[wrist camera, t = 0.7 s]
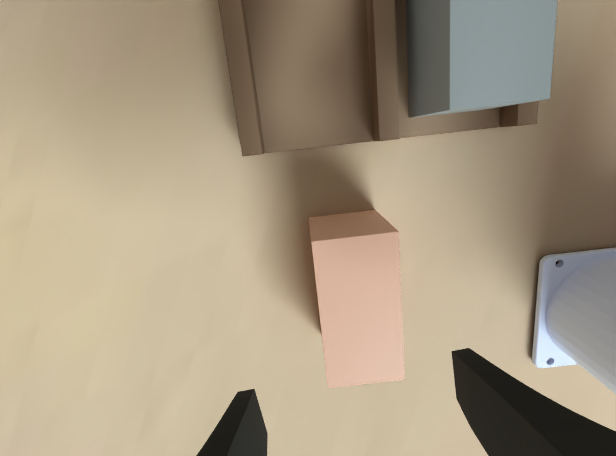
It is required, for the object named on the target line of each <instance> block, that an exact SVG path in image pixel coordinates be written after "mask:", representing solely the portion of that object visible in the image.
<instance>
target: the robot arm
mask: <svg viewBox="0 0 616 456" xmlns="http://www.w3.org/2000/svg"><path fill="white" fill-rule="evenodd" d="M558 260H559V263H558V264H557V265H555V264H556V262H557V261H558ZM452 359H453V369H454V378H455V388H456V397H457V400H458V402H459V404H460V407H461V409H462V411H463V413H464V415H465V417H466V419H467V421H468V423H469V425H470V427H471V428H472V430H473V432H474V433H475V435H476V437H477V438H478V440H479V441H480V443H481V444H482V446H483V448H484V449H485V451H486V452H487V454H488V456H616V431H613V430H611V429H609V428H607V427H604V426H602V425H600V424H598V423H596V422H594V421H592V420H590V419H588V418H586V417H584V416H581V415H579V414H577V413H575V412H573V411H571V410H569V409H567V408H566V407H564V406H562V405H560V404H558V403H556V402H554V401H553V400H551V399H549V398H547V397H546V396H544V395H542V394H540V393H538V392H537V391H535V390H533V389H532V388H530V387H528V386H527V385H525V384H523V383H522V382H520V381H518V380H517V379H515V378H514V377H512V376H510V375H509V374H507V373H506V372H504V371H503V370H501V369H500V368H498V367H497V366H495V365H494V364H492V363H491V362H489V361H488V360H486V359H485V358H483V357H482V356H480V355H479V354H477V353H476V352H474V351H472V350H471V349H469V348H467V349H461V350H456V351H452ZM548 359H549V360H548ZM532 362H533V364H534V365H535V366H536V367H538V368H547V367H556V366H565V365H574V364H579V365H580V366H581V367H582V368H584V369H585V370H586V371H587V372H589V373H590V374H591V375H592V376H594V377H595V378H596V379H597V380H599V381H600V382H601V383H602V384H604V385H605V386H606V387H607V388H609V389H610V390H611V391H612V392H614V393H615V394H616V248H607V249H598V250H589V251H580V252H571V253H562V254H553V255H546V256H544V257H543V258H542V259H541V260H540V264H539V276H538V289H537V302H536V314H535V327H534V340H533V353H532ZM197 456H267V430H266V427H265V424H264V420H263V417H262V413H261V410H260V407H259V403H258V400H257V396H256V393H255V390H254V389H251V390H246V391H240V392H238V393H237V394H236V396H235V397H234V399H233V400H232V402H231V404H230V405H229V407H228V408H227V410H226V412H225V413H224V415H223V416H222V418H221V420H220V421H219V423H218V424H217V426H216V428H215V429H214V431H213V432H212V434H211V435H210V437H209V438H208V440H207V441H206V443H205V444H204V446H203V447H202V449H201V450H200V451H199V453H198V454H197Z"/></svg>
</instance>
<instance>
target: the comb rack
mask: <svg viewBox="0 0 616 456" xmlns="http://www.w3.org/2000/svg"><path fill="white" fill-rule="evenodd" d="M218 2H219V8H220V14H221V21H222V27H223V34H224V40H225V47H226V53H227V60H228V66H229V73H230V79H231V85H232V92H233V98H234V105H235V111H236V118H237V124H238V131H239V137H240V143H241V150H242V156H250V155H259V154H264V153H270V152H279V151H288V150H297V149H306V148H315V147H324V146H333V145H342V144H351V143H360V142H369V141H385V140H394V139H400V138H405V137H414V136H423V135H432V134H441V133H450V132H459V131H468V130H477V129H486V128H495V127H507V126H520V125H529V124H537V115H538V101H534V102H527V103H521V104H515V105H509V106H503V107H497V108H491V109H484V110H476V111H467V112H458V113H449V114H440V115H431V116H422V117H413V118H409V98H408V60H407V23H406V0H218Z"/></svg>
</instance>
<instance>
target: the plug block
mask: <svg viewBox="0 0 616 456" xmlns="http://www.w3.org/2000/svg"><path fill="white" fill-rule="evenodd" d="M308 219H309V227H310V236H311V245H312V254H313V263H314V272H315V280H316V289H317V298H318V307H319V316H320V324H321V333H322V342H323V350H324V359H325V367H326V375H327V384H328V388H335V387H343V386H352V385H361V384H370V383H379V382H388V381H396V380H405V372H404V347H403V323H402V299H401V274H400V250H399V231H397V230H396V229H395V228H394V227H393V226H392V225H391V224H390V223H389V222H388V221H387V220H386V219H384V218H383V217H382V216H381V215H380V214H379V213H378V212H377V211H376V210H368V211H359V212H351V213H342V214H333V215H324V216H316V217H308Z"/></svg>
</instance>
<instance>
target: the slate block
mask: <svg viewBox="0 0 616 456" xmlns="http://www.w3.org/2000/svg"><path fill="white" fill-rule="evenodd" d="M556 13H557V0H406V23H407V60H408V98H409V118H413V117H422V116H431V115H440V114H449V113H458V112H467V111H476V110H484V109H491V108H497V107H503V106H509V105H515V104H521V103H527V102H534V101H540V100H546V99H550V91H551V78H552V65H553V52H554V39H555V26H556Z"/></svg>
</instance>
